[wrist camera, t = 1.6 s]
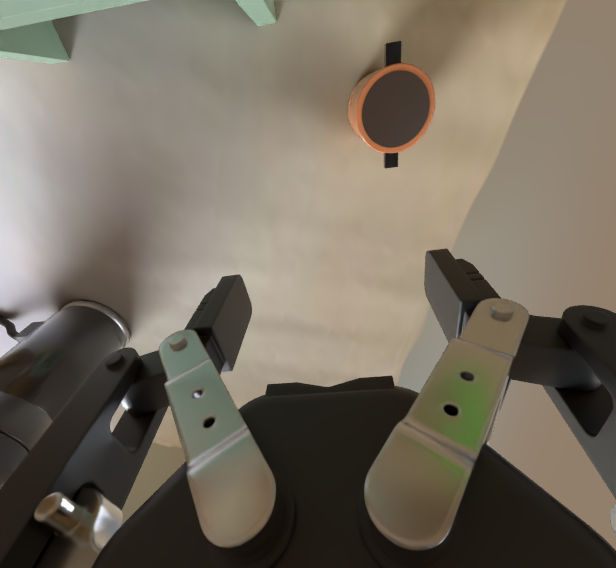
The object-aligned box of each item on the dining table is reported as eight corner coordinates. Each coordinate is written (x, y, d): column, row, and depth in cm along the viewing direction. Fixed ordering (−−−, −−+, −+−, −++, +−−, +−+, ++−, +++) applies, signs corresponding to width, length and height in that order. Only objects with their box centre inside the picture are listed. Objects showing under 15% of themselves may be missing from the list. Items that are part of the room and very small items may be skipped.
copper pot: (350, 157, 29) (358, 174, 23) (345, 59, 25) (353, 46, 19) (405, 150, 28) (430, 165, 22) (410, 48, 24) (442, 31, 18)
